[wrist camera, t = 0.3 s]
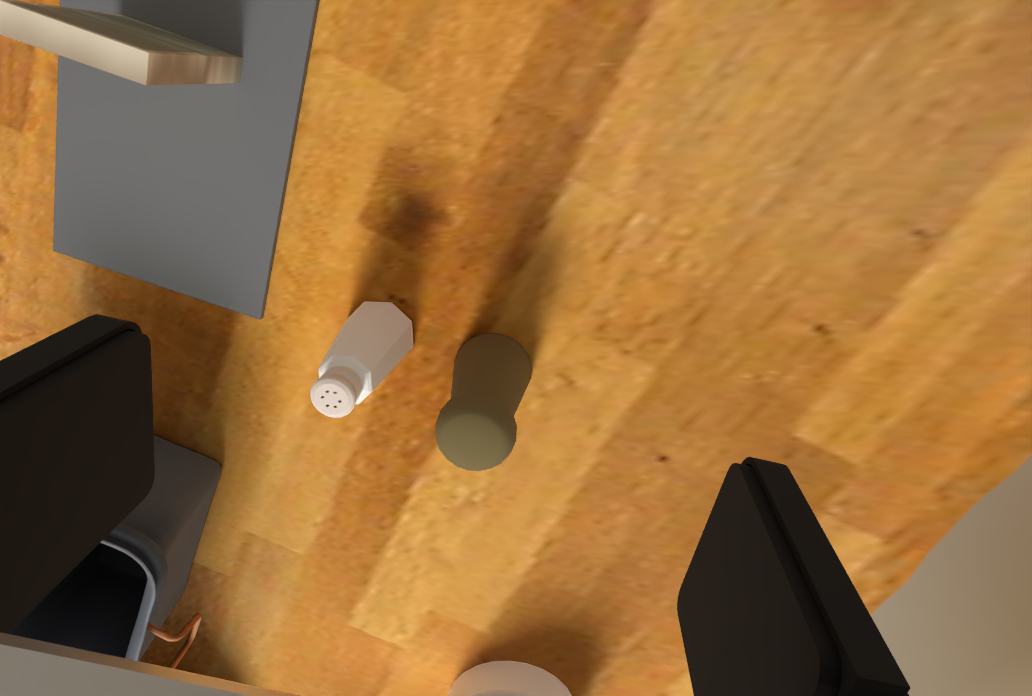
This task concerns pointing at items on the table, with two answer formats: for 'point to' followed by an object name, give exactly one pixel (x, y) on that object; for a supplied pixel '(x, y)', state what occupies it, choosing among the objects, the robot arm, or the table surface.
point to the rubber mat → (185, 153)
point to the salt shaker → (361, 357)
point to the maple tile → (118, 45)
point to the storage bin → (134, 567)
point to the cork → (483, 402)
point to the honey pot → (507, 681)
